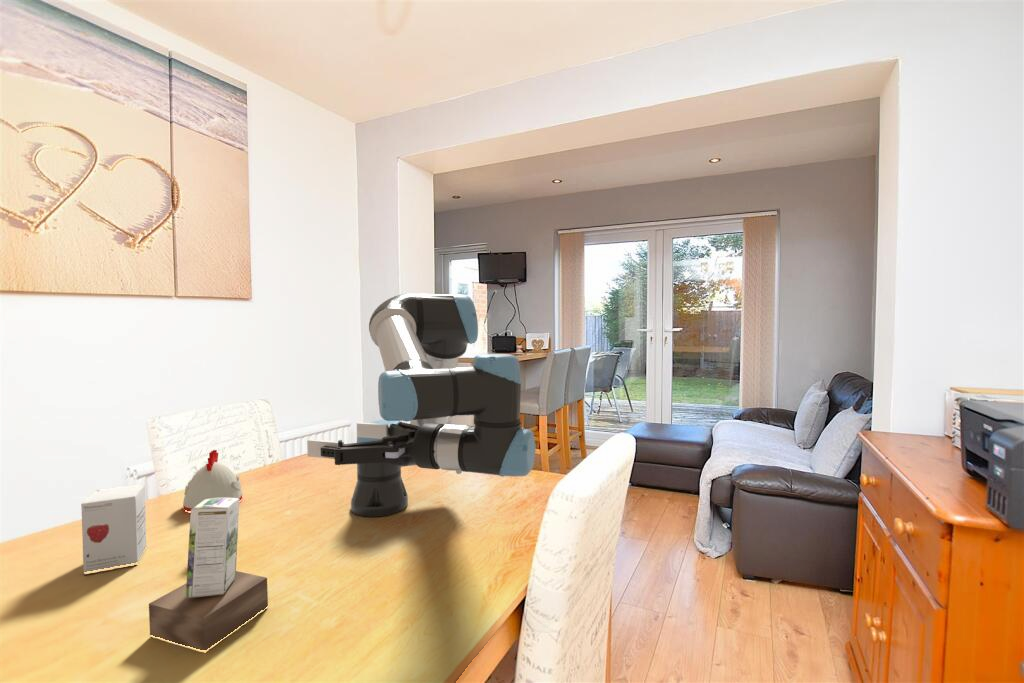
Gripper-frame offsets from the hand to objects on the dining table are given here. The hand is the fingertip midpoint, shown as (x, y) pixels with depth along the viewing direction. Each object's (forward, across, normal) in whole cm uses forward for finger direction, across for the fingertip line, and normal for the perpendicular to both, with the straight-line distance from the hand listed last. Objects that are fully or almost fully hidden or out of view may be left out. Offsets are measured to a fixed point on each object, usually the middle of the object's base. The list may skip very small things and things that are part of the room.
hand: (335, 438), depth 85 cm
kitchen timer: (+63, +29, -30) cm, 75 cm away
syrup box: (+16, -12, -24) cm, 31 cm away
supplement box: (+54, -2, -30) cm, 62 cm away
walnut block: (+17, -12, -30) cm, 36 cm away
